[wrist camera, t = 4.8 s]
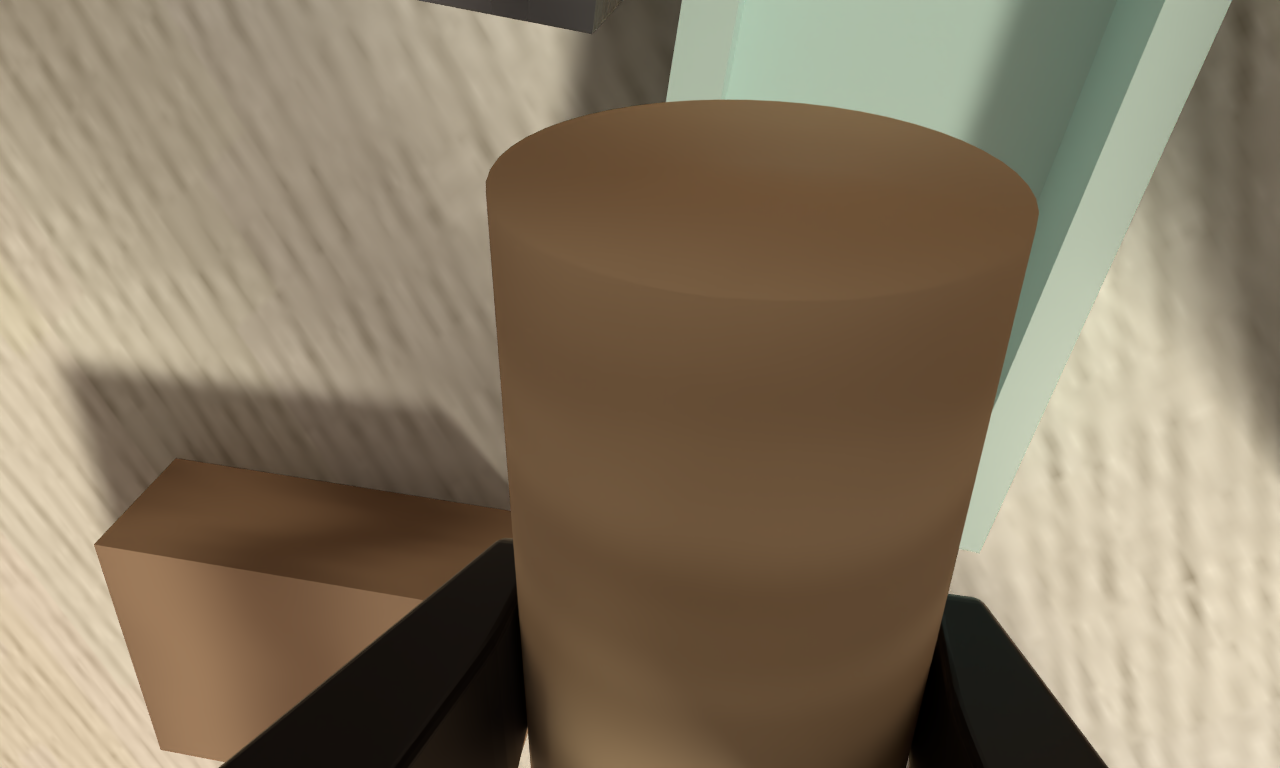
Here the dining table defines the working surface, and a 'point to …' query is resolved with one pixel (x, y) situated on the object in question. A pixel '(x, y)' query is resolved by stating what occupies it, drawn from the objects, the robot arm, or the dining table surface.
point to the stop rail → (544, 11)
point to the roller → (743, 422)
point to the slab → (268, 589)
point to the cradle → (987, 132)
